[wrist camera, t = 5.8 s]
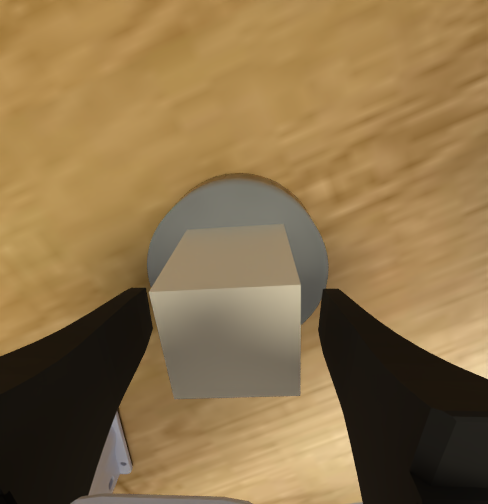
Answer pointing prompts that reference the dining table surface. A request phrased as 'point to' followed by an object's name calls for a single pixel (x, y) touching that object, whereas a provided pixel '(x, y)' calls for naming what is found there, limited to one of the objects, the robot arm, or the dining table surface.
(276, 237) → the cream block
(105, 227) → the dining table surface
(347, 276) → the dining table surface
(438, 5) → the dining table surface
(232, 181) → the grey disc
